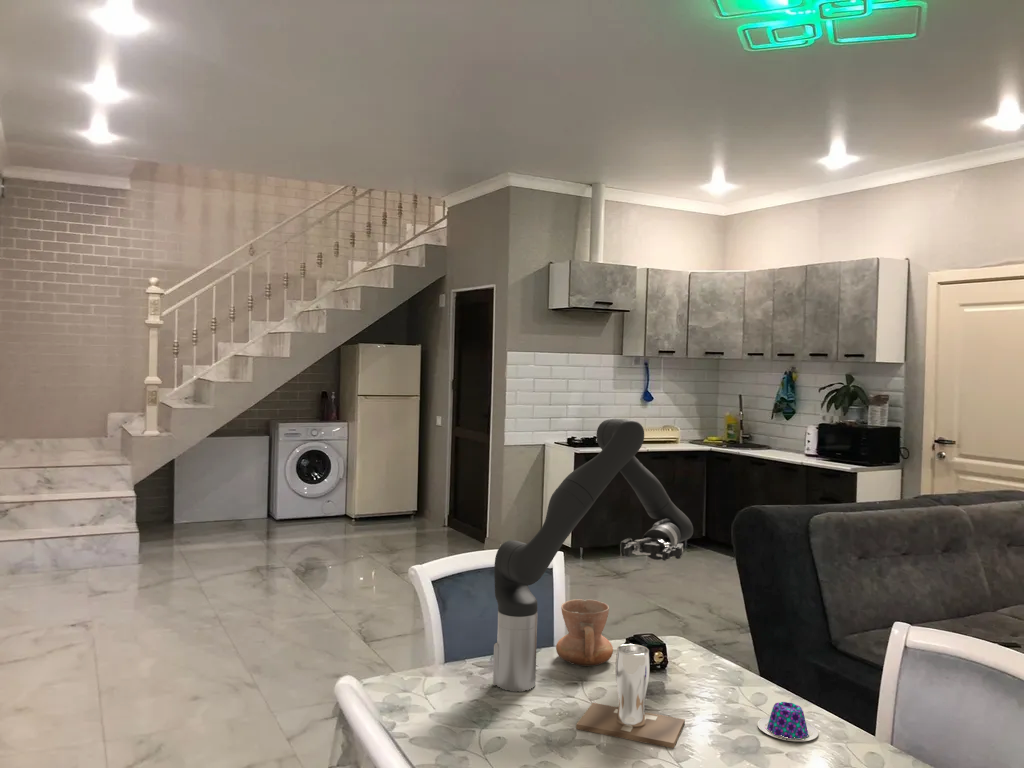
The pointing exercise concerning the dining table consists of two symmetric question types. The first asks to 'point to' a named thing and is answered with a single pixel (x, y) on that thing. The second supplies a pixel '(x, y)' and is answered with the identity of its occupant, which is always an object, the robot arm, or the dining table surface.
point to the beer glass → (632, 684)
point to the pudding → (787, 722)
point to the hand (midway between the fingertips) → (645, 554)
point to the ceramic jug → (584, 633)
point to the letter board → (653, 731)
